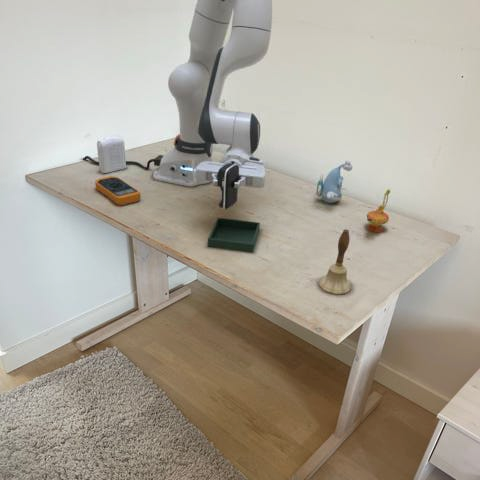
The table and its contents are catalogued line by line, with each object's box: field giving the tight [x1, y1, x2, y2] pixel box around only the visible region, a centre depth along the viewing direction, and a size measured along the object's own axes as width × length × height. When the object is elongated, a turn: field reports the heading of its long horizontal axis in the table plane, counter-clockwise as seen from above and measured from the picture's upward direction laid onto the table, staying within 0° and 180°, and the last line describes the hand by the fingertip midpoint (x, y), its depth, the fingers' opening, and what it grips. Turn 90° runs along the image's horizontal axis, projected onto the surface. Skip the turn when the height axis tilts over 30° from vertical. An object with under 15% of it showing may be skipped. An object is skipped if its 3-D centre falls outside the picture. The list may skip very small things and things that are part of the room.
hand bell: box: [318, 229, 352, 295], centre depth 125 cm, size 8×8×16 cm
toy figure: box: [315, 160, 353, 204], centre depth 168 cm, size 17×10×15 cm, turn 168°
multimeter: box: [94, 175, 142, 206], centre depth 167 cm, size 9×18×3 cm, turn 40°
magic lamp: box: [366, 188, 391, 233], centre depth 154 cm, size 7×18×11 cm, turn 149°
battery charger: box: [216, 163, 239, 210], centre depth 138 cm, size 7×4×11 cm, turn 153°
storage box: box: [207, 217, 261, 253], centre depth 147 cm, size 13×14×3 cm
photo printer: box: [96, 135, 127, 174], centre depth 181 cm, size 10×4×12 cm, turn 134°
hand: (226, 185), depth 137 cm, fingers closed on battery charger, 4 cm apart
